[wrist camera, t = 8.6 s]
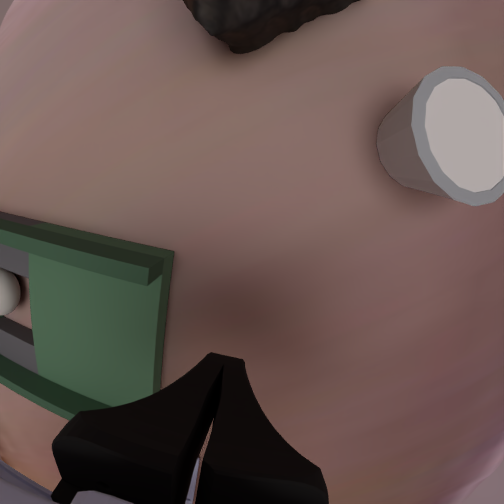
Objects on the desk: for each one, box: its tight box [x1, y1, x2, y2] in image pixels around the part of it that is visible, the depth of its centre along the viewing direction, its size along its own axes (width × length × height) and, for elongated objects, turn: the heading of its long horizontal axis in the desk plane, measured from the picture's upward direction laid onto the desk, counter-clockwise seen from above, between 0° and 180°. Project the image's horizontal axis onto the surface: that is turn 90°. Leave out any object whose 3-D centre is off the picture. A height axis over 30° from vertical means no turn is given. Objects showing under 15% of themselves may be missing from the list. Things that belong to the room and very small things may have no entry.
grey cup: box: [376, 66, 504, 206], centre depth 15 cm, size 7×7×7 cm
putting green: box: [0, 212, 174, 420], centre depth 17 cm, size 16×20×10 cm
